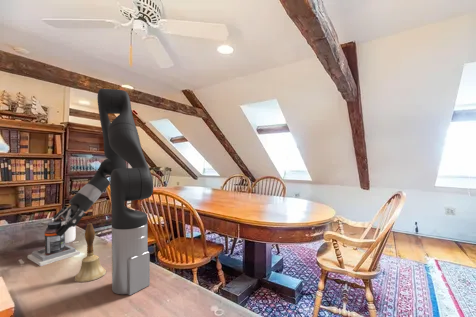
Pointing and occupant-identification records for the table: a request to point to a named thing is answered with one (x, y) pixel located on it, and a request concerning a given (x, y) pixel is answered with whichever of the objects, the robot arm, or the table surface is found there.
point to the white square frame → (52, 255)
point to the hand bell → (90, 260)
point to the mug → (69, 233)
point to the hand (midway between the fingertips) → (53, 233)
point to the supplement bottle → (54, 239)
